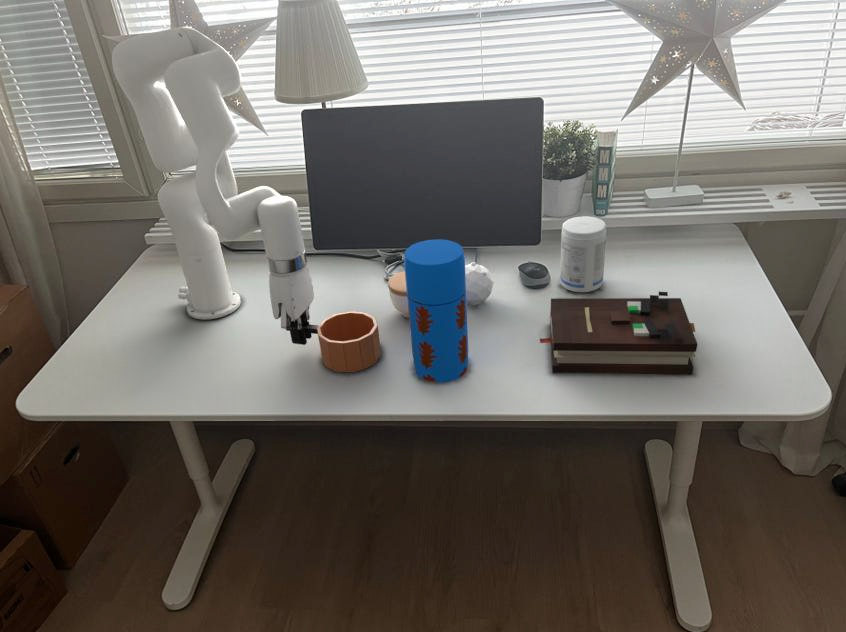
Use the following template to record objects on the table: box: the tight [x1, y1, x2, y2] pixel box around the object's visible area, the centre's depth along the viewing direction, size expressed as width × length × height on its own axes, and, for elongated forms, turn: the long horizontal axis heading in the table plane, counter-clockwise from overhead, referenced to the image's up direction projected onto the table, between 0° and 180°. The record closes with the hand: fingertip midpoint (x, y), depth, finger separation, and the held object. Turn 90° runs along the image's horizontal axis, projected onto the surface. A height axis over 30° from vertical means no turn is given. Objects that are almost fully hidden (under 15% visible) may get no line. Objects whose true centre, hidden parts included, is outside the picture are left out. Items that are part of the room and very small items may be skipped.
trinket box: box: [387, 270, 409, 319], centre depth 157 cm, size 11×11×9 cm
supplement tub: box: [559, 216, 607, 293], centre depth 159 cm, size 10×10×15 cm
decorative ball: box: [465, 261, 495, 306], centre depth 160 cm, size 9×10×12 cm
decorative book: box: [539, 291, 698, 376], centre depth 138 cm, size 19×8×30 cm
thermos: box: [403, 238, 469, 384], centre depth 133 cm, size 11×11×25 cm
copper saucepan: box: [285, 310, 382, 373], centre depth 146 cm, size 20×12×7 cm, turn 71°
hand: (302, 339), depth 148 cm, fingers closed on copper saucepan, 1 cm apart
